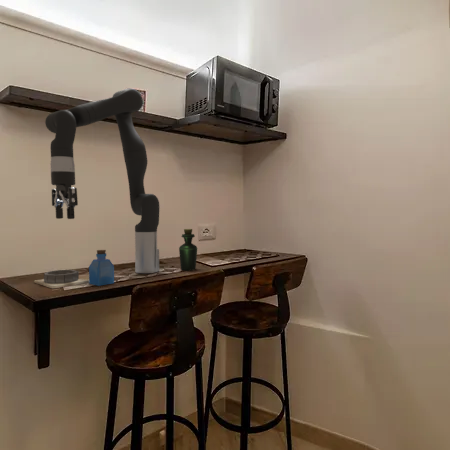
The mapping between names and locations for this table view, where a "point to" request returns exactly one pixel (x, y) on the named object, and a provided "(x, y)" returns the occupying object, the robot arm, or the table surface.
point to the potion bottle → (188, 252)
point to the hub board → (81, 281)
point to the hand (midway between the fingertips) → (65, 218)
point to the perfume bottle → (101, 270)
